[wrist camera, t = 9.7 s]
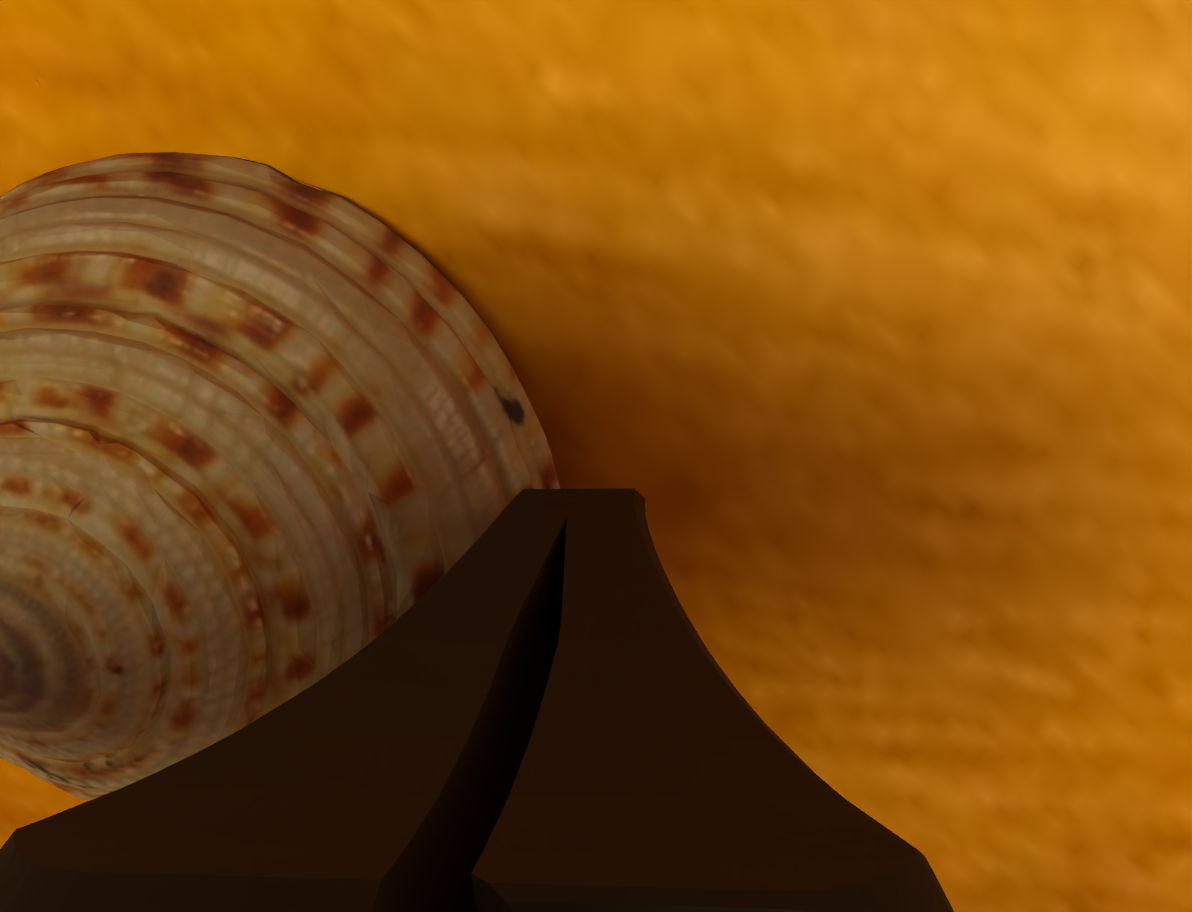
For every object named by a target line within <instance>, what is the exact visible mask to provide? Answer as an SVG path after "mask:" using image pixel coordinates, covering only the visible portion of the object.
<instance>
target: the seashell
mask: <svg viewBox="0 0 1192 912" xmlns="http://www.w3.org/2000/svg"><path fill="white" fill-rule="evenodd" d="M523 489H560V485H559V481H558V477H557V473H556V469H555V465H554V461H553V457H552V454H551V451H550V448H549V445H548V442H547V439H546V436H545V433H544V431H543V429H542V426H541V424H540V422H539V420H538V417H537V415H536V413H535V411H534V409H533V407H532V405H531V403H530V401H529V399H528V397H527V395H526V393H525V391H524V389H523V387H522V385H521V383H520V381H519V379H518V377H517V375H516V373H515V371H514V369H513V367H512V366H511V364H510V362H509V361H508V359H507V357H506V356H505V354H504V353H503V351H502V349H501V348H500V346H499V344H498V343H497V341H496V340H495V338H494V336H493V335H492V333H491V331H490V330H489V329H488V327H487V326H486V325H485V324H484V322H483V321H482V320H481V319H480V317H479V316H478V315H477V313H476V312H475V311H474V310H473V308H472V307H471V306H470V305H469V303H468V302H467V301H466V299H465V298H464V297H463V296H462V295H461V294H460V293H459V292H458V291H457V290H456V289H455V288H454V287H453V286H452V285H451V284H450V283H449V282H448V281H447V280H446V279H445V278H444V277H443V276H442V275H441V274H440V273H439V272H438V271H437V270H436V269H435V267H434V266H433V265H432V264H431V263H430V262H429V261H428V260H427V259H426V258H425V257H424V256H423V255H421V254H420V253H419V252H418V251H416V250H415V249H414V248H413V247H411V246H410V245H409V244H408V243H406V242H405V241H404V240H403V239H402V238H400V237H399V236H398V235H397V234H395V233H394V232H393V231H392V230H390V229H389V228H388V227H387V226H385V225H384V224H383V223H381V222H380V221H378V220H377V219H375V218H374V217H372V216H371V215H369V214H368V213H366V212H365V211H363V210H362V209H360V208H358V207H357V206H355V205H354V204H352V203H351V202H349V201H348V200H346V199H345V198H343V197H340V196H338V195H335V194H332V193H330V192H327V191H324V190H321V189H319V188H316V187H313V186H311V185H308V184H305V183H302V182H299V181H296V180H294V179H292V178H291V177H289V176H287V175H285V174H283V173H281V172H279V171H277V170H275V169H273V168H271V167H269V166H267V165H265V164H260V163H256V162H252V161H248V160H243V159H239V158H235V157H226V156H214V155H202V154H190V153H174V152H172V153H130V154H119V155H114V156H110V157H105V158H101V159H97V160H92V161H88V162H83V163H79V164H75V165H71V166H67V167H63V168H59V169H57V170H54V171H51V172H48V173H45V174H43V175H41V176H38V177H36V178H34V179H32V180H29V181H27V182H25V183H23V184H20V185H18V186H16V187H15V188H14V189H12V190H11V191H9V192H8V193H6V194H5V195H4V196H2V197H1V198H0V757H1V758H3V759H5V760H7V761H9V762H11V763H13V764H15V765H17V766H19V767H21V768H23V769H25V770H27V771H29V772H31V773H32V774H34V775H35V776H37V777H38V778H40V779H41V780H43V781H45V782H47V783H50V784H52V785H54V786H56V787H58V788H60V789H62V790H64V791H67V792H69V793H71V794H73V795H75V796H78V797H80V798H82V799H84V800H88V801H90V800H93V799H95V798H98V797H100V796H103V795H105V794H108V793H110V792H113V791H115V790H117V789H120V788H122V787H125V786H127V785H129V784H132V783H134V782H136V781H138V780H140V779H143V778H145V777H147V776H149V775H152V774H154V773H156V772H158V771H160V770H162V769H164V768H166V767H168V766H170V765H172V764H174V763H177V762H179V761H181V760H183V759H185V758H187V757H189V756H191V755H193V754H195V753H197V752H199V751H201V750H203V749H205V748H207V747H208V746H210V745H212V744H214V743H216V742H218V741H220V740H222V739H224V738H225V737H227V736H229V735H231V734H233V733H235V732H237V731H238V730H240V729H242V728H244V727H245V726H247V725H249V724H250V723H252V722H253V721H255V720H257V719H258V718H260V717H262V716H263V715H265V714H266V713H268V712H270V711H271V710H273V709H275V708H276V707H278V706H279V705H281V704H283V703H284V702H286V701H288V700H289V699H291V698H292V697H294V696H296V695H297V694H299V693H301V692H302V691H304V690H305V689H307V688H309V687H310V686H312V685H313V684H315V683H316V682H318V681H319V680H321V679H322V678H324V677H325V676H326V675H328V674H329V673H330V672H332V671H333V670H335V669H336V668H337V667H339V666H340V665H341V664H343V663H344V662H346V661H347V660H348V659H350V658H351V657H352V656H354V655H355V654H356V653H358V652H359V651H360V650H362V649H363V648H364V647H365V646H367V645H368V644H369V643H370V642H372V641H373V640H374V639H376V638H377V637H378V636H379V635H380V634H382V633H383V632H384V631H385V630H386V629H388V628H389V627H390V626H391V625H392V624H393V623H394V622H395V621H396V620H397V619H398V618H399V617H401V616H402V615H403V614H404V613H405V612H406V611H407V610H408V609H409V608H410V607H411V606H413V605H414V604H415V603H416V602H417V601H418V600H419V599H420V598H421V597H422V596H423V595H425V594H426V593H427V592H428V591H429V590H430V589H431V588H432V587H433V586H434V585H435V584H436V583H437V582H438V581H439V580H440V578H441V577H442V576H443V575H444V574H445V573H446V572H447V571H448V570H449V569H450V568H451V567H452V566H453V565H454V564H455V563H456V562H457V561H458V560H459V559H460V558H461V557H462V556H463V555H464V553H465V552H466V551H467V550H468V549H469V548H470V547H471V546H472V545H473V544H474V543H475V541H476V540H477V539H478V538H479V537H480V536H481V535H482V534H483V533H484V531H485V530H486V529H487V528H488V527H489V526H490V525H491V523H492V522H493V521H494V520H495V519H496V518H497V517H498V515H499V514H500V513H501V512H502V511H503V510H504V509H505V507H506V506H507V505H508V504H509V503H510V502H511V501H512V500H513V499H514V498H515V497H516V496H517V495H518V494H519V493H520V492H521V491H522V490H523Z"/></svg>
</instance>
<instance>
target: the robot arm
mask: <svg viewBox="0 0 1192 912" xmlns="http://www.w3.org/2000/svg"><path fill="white" fill-rule="evenodd" d="M0 912H954V911H953V909H952V907H951V905H950V903H949V901H948V899H947V897H946V895H945V893H944V891H943V889H942V887H941V886H940V884H939V882H938V880H937V878H936V876H935V874H934V872H933V870H932V868H931V867H930V865H929V863H928V861H927V859H926V858H925V856H924V855H923V854H922V853H921V852H920V851H918V850H917V849H916V848H914V847H913V846H911V845H910V844H909V843H907V842H906V841H904V840H903V839H901V838H900V837H899V836H897V835H896V834H894V833H893V832H891V831H890V830H889V829H887V828H886V827H884V826H883V825H881V824H880V823H879V822H877V821H876V820H874V819H873V818H871V817H870V816H869V815H867V814H866V813H864V812H863V811H861V810H860V809H859V808H857V807H856V806H854V805H853V804H851V803H850V802H849V801H847V800H846V799H845V798H843V797H842V796H841V795H840V794H839V793H837V792H836V791H835V790H834V789H833V788H832V787H830V786H829V785H828V784H827V783H826V782H824V781H823V780H822V779H821V778H820V777H819V776H817V775H816V774H815V773H814V772H813V771H812V770H811V769H810V768H809V767H808V766H807V765H806V764H805V763H804V762H803V761H802V760H801V759H800V758H799V757H798V756H797V755H796V754H795V753H794V752H793V751H792V750H791V749H790V748H789V747H788V746H787V745H786V744H785V743H784V742H783V741H782V740H781V739H780V738H779V737H778V736H777V735H776V734H775V733H774V732H773V731H772V730H771V729H770V728H769V727H768V726H767V725H766V724H765V723H764V721H763V720H762V719H761V718H760V717H759V716H758V715H757V713H756V712H755V711H754V710H753V709H752V707H751V706H750V705H749V704H748V703H747V701H746V700H745V699H744V698H743V697H742V696H741V694H740V693H739V692H738V691H737V689H736V688H735V687H734V685H733V684H732V683H731V681H730V680H729V679H728V677H727V676H726V675H725V674H724V672H723V671H722V670H721V668H720V667H719V665H718V664H717V663H716V661H715V660H714V658H713V657H712V655H711V654H710V652H709V651H708V649H707V648H706V646H705V645H704V643H703V642H702V640H701V639H700V637H699V635H698V634H697V632H696V630H695V629H694V627H693V625H692V624H691V622H690V620H689V619H688V617H687V615H686V613H685V612H684V610H683V608H682V606H681V604H680V602H679V600H678V599H677V597H676V595H675V593H674V591H673V588H672V586H671V584H670V582H669V580H668V578H667V576H666V574H665V572H664V569H663V567H662V565H661V563H660V560H659V558H658V556H657V553H656V550H655V548H654V545H653V542H652V539H651V536H650V533H649V529H648V526H647V522H646V517H645V498H644V497H643V496H642V495H641V494H640V493H639V492H638V491H636V490H635V489H634V488H632V489H523V490H522V491H521V492H520V493H519V494H518V495H517V496H516V497H515V498H514V499H513V500H512V501H511V502H510V503H509V504H508V505H507V506H506V507H505V509H504V510H503V511H502V512H501V513H500V514H499V515H498V517H497V518H496V519H495V520H494V521H493V522H492V523H491V525H490V526H489V527H488V528H487V529H486V530H485V531H484V533H483V534H482V535H481V536H480V537H479V538H478V539H477V540H476V541H475V543H474V544H473V545H472V546H471V547H470V548H469V549H468V550H467V551H466V552H465V553H464V555H463V556H462V557H461V558H460V559H459V560H458V561H457V562H456V563H455V564H454V565H453V566H452V567H451V568H450V569H449V570H448V571H447V572H446V573H445V574H444V575H443V576H442V577H441V578H440V580H439V581H438V582H437V583H436V584H435V585H434V586H433V587H432V588H431V589H430V590H429V591H428V592H427V593H426V594H425V595H423V596H422V597H421V598H420V599H419V600H418V601H417V602H416V603H415V604H414V605H413V606H411V607H410V608H409V609H408V610H407V611H406V612H405V613H404V614H403V615H402V616H401V617H399V618H398V619H397V620H396V621H395V622H394V623H393V624H392V625H391V626H390V627H389V628H388V629H386V630H385V631H384V632H383V633H382V634H380V635H379V636H378V637H377V638H376V639H374V640H373V641H372V642H370V643H369V644H368V645H367V646H365V647H364V648H363V649H362V650H360V651H359V652H358V653H356V654H355V655H354V656H352V657H351V658H350V659H348V660H347V661H346V662H344V663H343V664H341V665H340V666H339V667H337V668H336V669H335V670H333V671H332V672H330V673H329V674H328V675H326V676H325V677H324V678H322V679H321V680H319V681H318V682H316V683H315V684H313V685H312V686H310V687H309V688H307V689H305V690H304V691H302V692H301V693H299V694H297V695H296V696H294V697H292V698H291V699H289V700H288V701H286V702H284V703H283V704H281V705H279V706H278V707H276V708H275V709H273V710H271V711H270V712H268V713H266V714H265V715H263V716H262V717H260V718H258V719H257V720H255V721H253V722H252V723H250V724H249V725H247V726H245V727H244V728H242V729H240V730H238V731H237V732H235V733H233V734H231V735H229V736H227V737H225V738H224V739H222V740H220V741H218V742H216V743H214V744H212V745H210V746H208V747H207V748H205V749H203V750H201V751H199V752H197V753H195V754H193V755H191V756H189V757H187V758H185V759H183V760H181V761H179V762H177V763H174V764H172V765H170V766H168V767H166V768H164V769H162V770H160V771H158V772H156V773H154V774H152V775H149V776H147V777H145V778H143V779H140V780H138V781H136V782H134V783H132V784H129V785H127V786H125V787H122V788H120V789H117V790H115V791H113V792H110V793H108V794H105V795H103V796H100V797H98V798H95V799H93V800H90V801H88V802H85V803H83V804H80V805H78V806H75V807H73V808H70V809H68V810H65V811H63V812H60V813H58V814H55V815H53V816H50V817H48V818H45V819H43V820H40V821H38V822H35V823H32V824H29V825H27V826H24V827H21V828H18V829H16V830H15V831H14V832H13V834H12V835H11V836H10V838H9V839H8V840H7V841H6V843H5V844H4V845H3V847H2V848H1V849H0Z"/></svg>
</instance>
